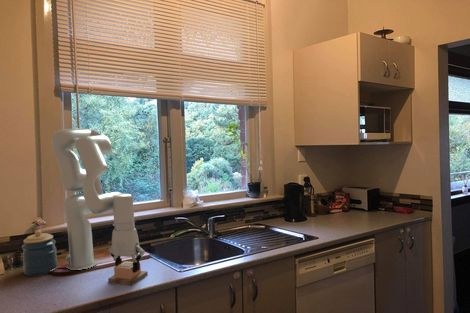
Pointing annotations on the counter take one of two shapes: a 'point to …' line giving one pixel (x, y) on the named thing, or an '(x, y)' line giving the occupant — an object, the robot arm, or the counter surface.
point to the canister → (39, 254)
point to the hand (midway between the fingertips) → (127, 270)
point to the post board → (128, 281)
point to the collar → (125, 271)
